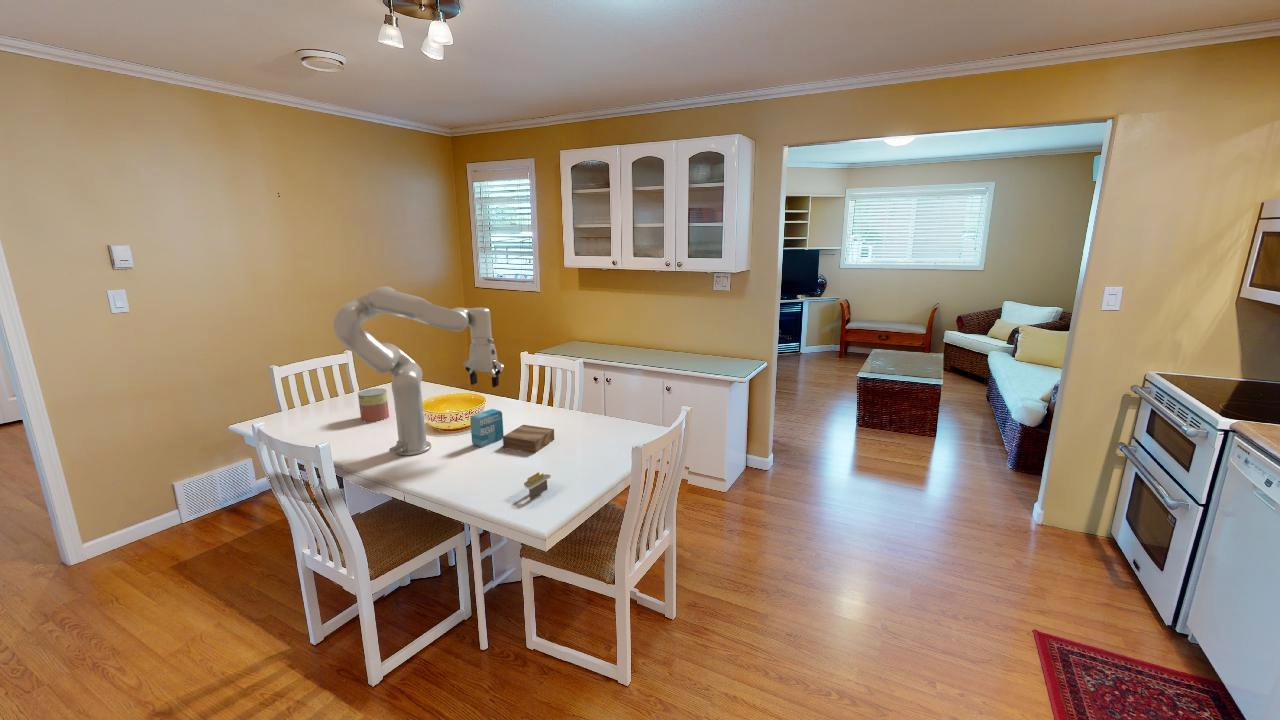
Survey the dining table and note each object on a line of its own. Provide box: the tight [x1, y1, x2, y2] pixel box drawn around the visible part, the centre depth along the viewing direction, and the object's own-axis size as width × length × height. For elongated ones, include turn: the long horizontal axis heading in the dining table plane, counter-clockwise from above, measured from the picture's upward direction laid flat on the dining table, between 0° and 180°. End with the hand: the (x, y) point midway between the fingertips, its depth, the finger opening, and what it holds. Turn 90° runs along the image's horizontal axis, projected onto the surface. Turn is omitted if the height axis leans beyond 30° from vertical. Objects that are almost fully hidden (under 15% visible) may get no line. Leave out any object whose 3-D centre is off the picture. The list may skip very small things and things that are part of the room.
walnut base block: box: [502, 424, 555, 454], centre depth 212 cm, size 14×14×5 cm
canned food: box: [357, 387, 390, 423], centre depth 240 cm, size 11×11×12 cm
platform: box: [523, 471, 552, 500], centre depth 172 cm, size 12×18×7 cm, turn 150°
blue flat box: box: [469, 408, 504, 448], centre depth 213 cm, size 12×4×12 cm, turn 145°
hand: (484, 385), depth 209 cm, fingers open, 9 cm apart
